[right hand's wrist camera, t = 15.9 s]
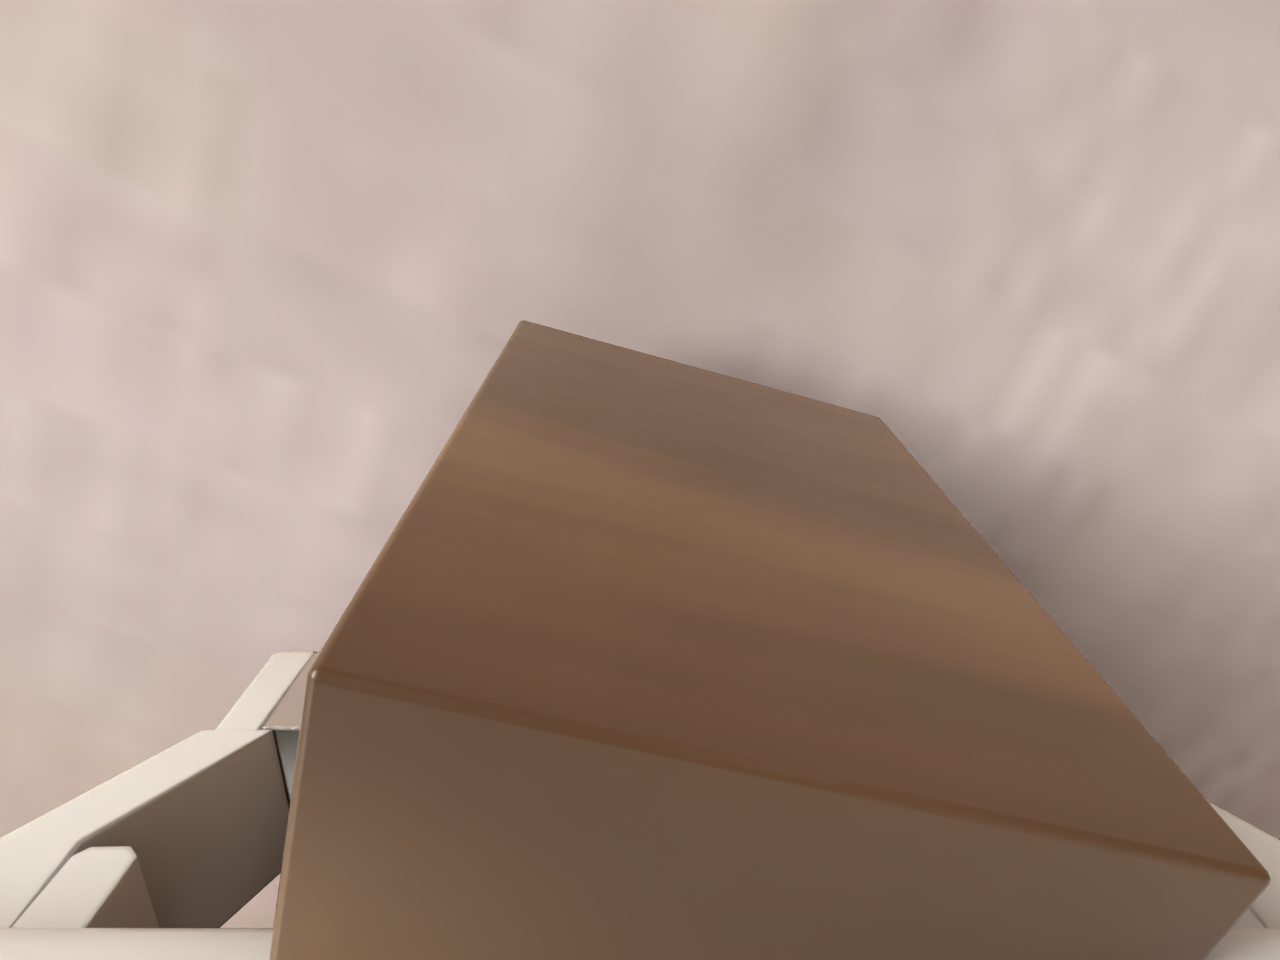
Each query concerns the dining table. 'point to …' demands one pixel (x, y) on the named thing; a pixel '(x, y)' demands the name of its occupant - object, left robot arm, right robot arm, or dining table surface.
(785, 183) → the dining table surface
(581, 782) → the bar
